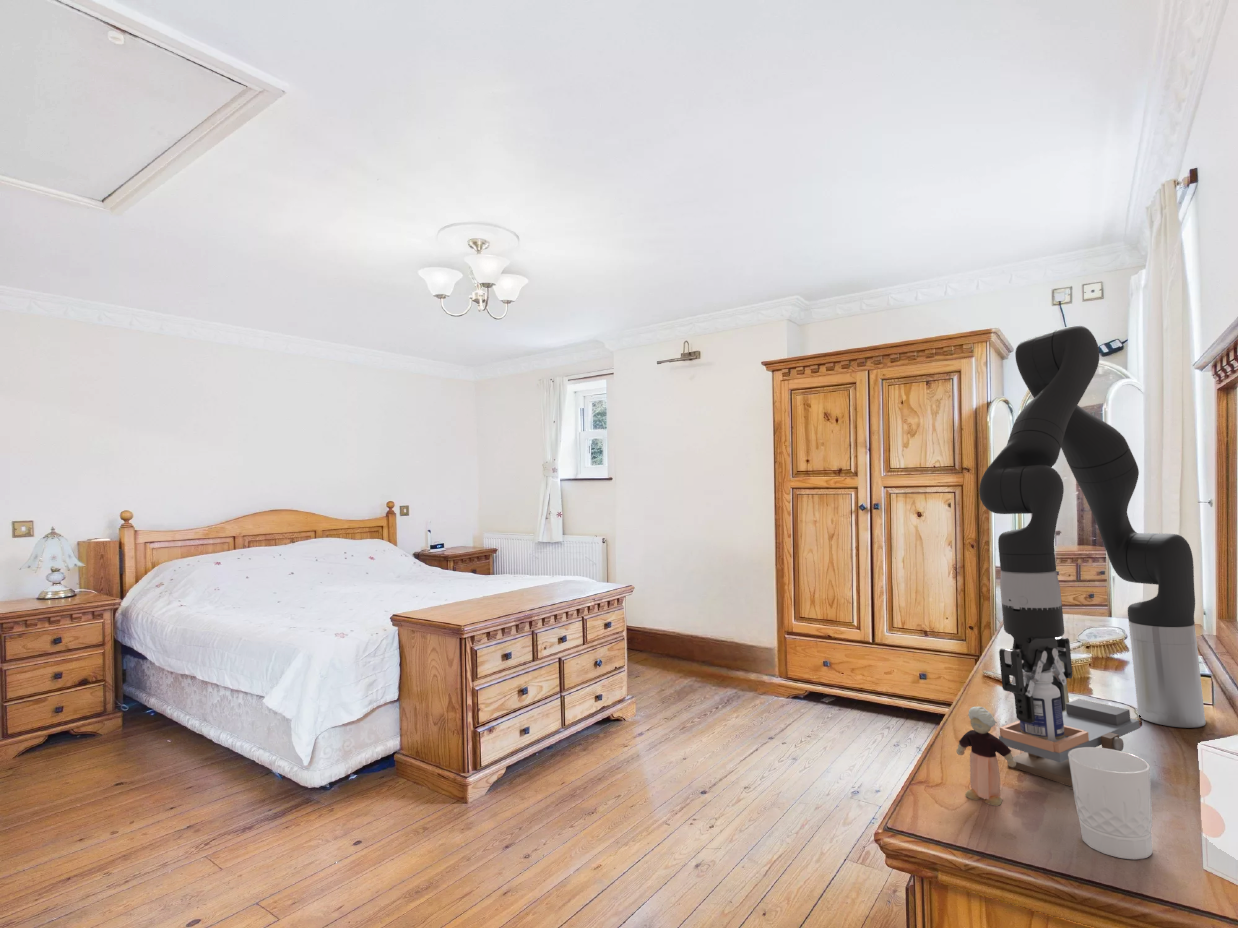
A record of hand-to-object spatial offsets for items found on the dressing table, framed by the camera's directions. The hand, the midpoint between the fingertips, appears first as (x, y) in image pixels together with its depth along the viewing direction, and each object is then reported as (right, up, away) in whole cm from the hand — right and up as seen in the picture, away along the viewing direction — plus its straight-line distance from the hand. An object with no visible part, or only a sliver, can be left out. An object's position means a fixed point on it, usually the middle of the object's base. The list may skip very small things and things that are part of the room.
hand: (1041, 715), depth 94 cm
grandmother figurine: (-10, -10, -4) cm, 15 cm away
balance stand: (+7, -10, +3) cm, 12 cm away
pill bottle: (0, -3, 0) cm, 3 cm away
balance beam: (+6, -4, +3) cm, 8 cm away
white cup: (-2, -9, -17) cm, 19 cm away
